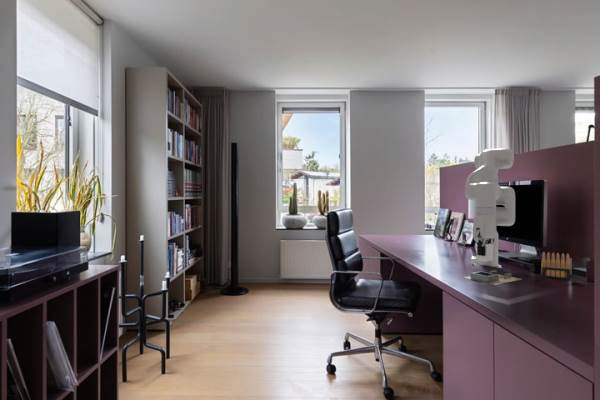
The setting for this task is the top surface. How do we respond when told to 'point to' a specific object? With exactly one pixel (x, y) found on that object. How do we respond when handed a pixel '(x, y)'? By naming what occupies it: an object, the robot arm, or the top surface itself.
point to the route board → (501, 278)
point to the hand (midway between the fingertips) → (484, 254)
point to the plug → (487, 253)
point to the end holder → (484, 276)
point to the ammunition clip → (557, 271)
